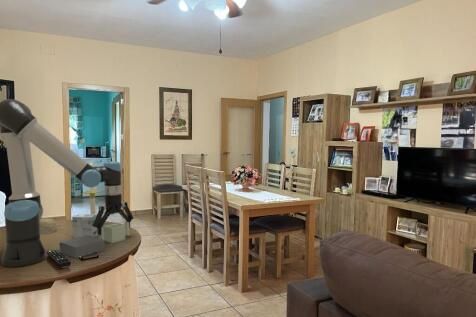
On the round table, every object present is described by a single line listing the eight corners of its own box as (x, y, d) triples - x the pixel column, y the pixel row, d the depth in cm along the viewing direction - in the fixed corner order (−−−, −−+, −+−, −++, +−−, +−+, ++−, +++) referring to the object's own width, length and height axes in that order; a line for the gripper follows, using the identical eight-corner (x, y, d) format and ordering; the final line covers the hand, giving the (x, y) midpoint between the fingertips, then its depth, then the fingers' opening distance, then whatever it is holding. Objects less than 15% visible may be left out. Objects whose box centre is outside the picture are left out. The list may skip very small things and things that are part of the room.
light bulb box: (99, 234, 178) (99, 213, 177) (93, 238, 171) (92, 216, 170) (79, 234, 179) (79, 213, 178) (72, 238, 172) (71, 216, 172)
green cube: (112, 243, 164) (111, 228, 163) (103, 240, 168) (103, 226, 167) (125, 239, 169) (124, 225, 169) (116, 237, 173) (116, 223, 173)
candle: (93, 233, 181) (90, 160, 179) (79, 230, 185) (76, 160, 183) (107, 228, 190) (105, 159, 188) (94, 226, 194) (91, 158, 192)
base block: (76, 259, 143) (75, 247, 142) (60, 253, 150) (59, 242, 150) (104, 251, 153) (104, 239, 153) (88, 245, 161) (88, 235, 161)
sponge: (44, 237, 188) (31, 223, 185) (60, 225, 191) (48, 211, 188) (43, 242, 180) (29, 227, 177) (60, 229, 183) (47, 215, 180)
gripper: (92, 198, 155) (94, 245, 156) (139, 191, 175) (141, 233, 176) (83, 196, 160) (85, 242, 161) (130, 190, 179) (132, 231, 180)
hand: (114, 238), depth 168 cm, fingers open, 13 cm apart
